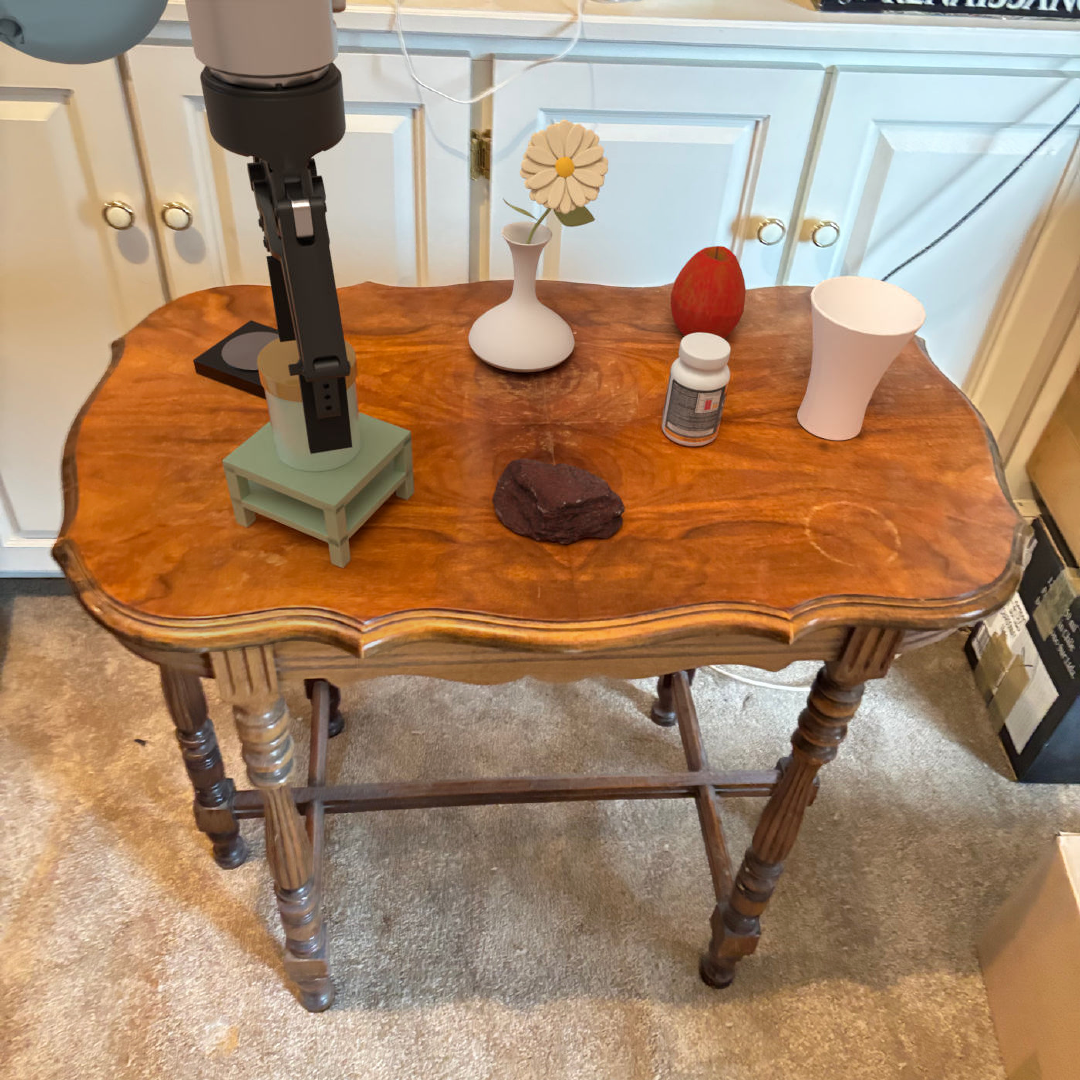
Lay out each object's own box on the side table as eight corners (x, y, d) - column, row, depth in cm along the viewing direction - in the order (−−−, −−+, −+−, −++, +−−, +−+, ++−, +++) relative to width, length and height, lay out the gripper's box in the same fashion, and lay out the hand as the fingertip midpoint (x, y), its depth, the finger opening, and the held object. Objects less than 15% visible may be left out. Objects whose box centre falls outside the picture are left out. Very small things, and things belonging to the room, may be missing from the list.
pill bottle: (727, 442, 92) (748, 357, 85) (676, 453, 91) (693, 367, 84) (700, 409, 96) (718, 324, 89) (650, 419, 94) (664, 334, 87)
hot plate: (195, 373, 96) (192, 358, 94) (253, 332, 102) (250, 318, 100) (266, 400, 93) (264, 384, 92) (321, 356, 99) (319, 342, 98)
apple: (690, 307, 111) (706, 220, 103) (751, 333, 107) (772, 246, 100) (651, 334, 106) (665, 245, 98) (713, 362, 102) (733, 272, 95)
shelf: (236, 523, 80) (221, 460, 75) (314, 453, 88) (305, 391, 83) (342, 568, 77) (334, 506, 72) (414, 492, 84) (411, 430, 80)
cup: (902, 437, 94) (951, 319, 85) (823, 465, 91) (864, 344, 81) (833, 382, 101) (871, 267, 92) (756, 405, 97) (787, 288, 88)
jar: (254, 455, 76) (236, 366, 70) (309, 408, 81) (297, 322, 75) (329, 485, 74) (317, 396, 68) (381, 435, 79) (374, 348, 73)
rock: (612, 562, 83) (596, 495, 88) (639, 516, 79) (621, 448, 84) (496, 551, 80) (486, 482, 85) (517, 503, 75) (506, 432, 80)
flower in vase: (455, 371, 98) (453, 129, 81) (484, 317, 106) (488, 86, 89) (576, 393, 97) (601, 151, 79) (596, 336, 105) (623, 105, 87)
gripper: (389, 148, 44) (407, 492, 58) (303, -4, 60) (334, 293, 75) (222, 161, 41) (284, 514, 56) (180, -1, 58) (237, 305, 73)
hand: (313, 389), depth 66 cm, fingers open, 13 cm apart
